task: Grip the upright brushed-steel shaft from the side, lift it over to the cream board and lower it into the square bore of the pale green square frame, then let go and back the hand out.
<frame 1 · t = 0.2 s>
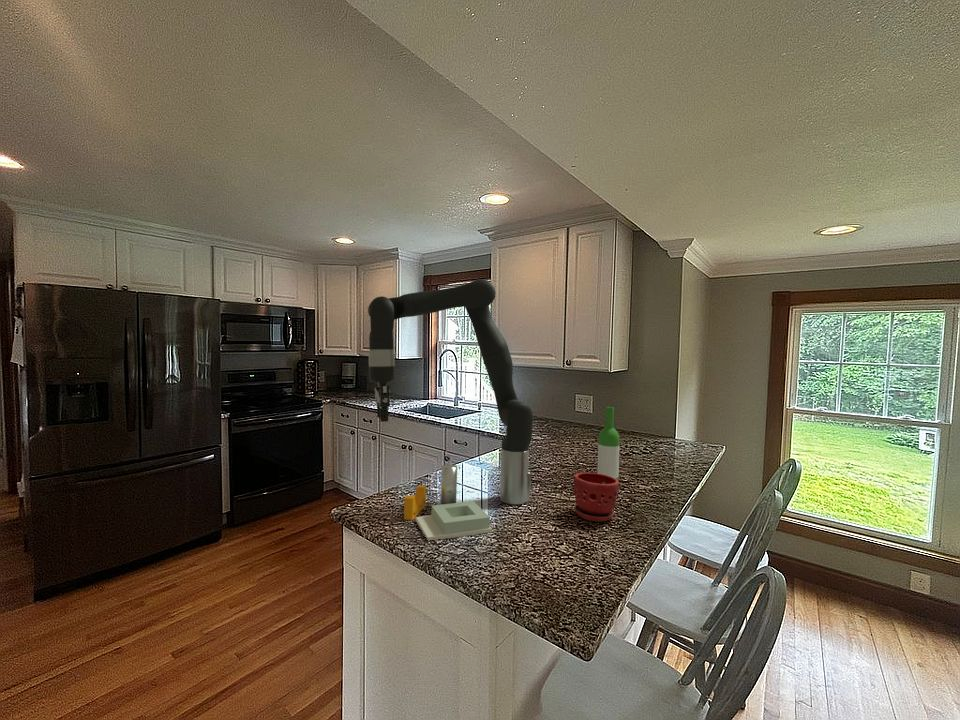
hand: (382, 419, 121), 28 cm above the counter, tool pointing down, fingers open, 8 cm apart
pale green square frame: (459, 525, 115), on the counter
wine bottle: (607, 484, 158), on the counter
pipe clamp: (412, 513, 124), on the counter
plant pot: (594, 516, 125), on the counter
steel shaft: (448, 507, 129), on the counter
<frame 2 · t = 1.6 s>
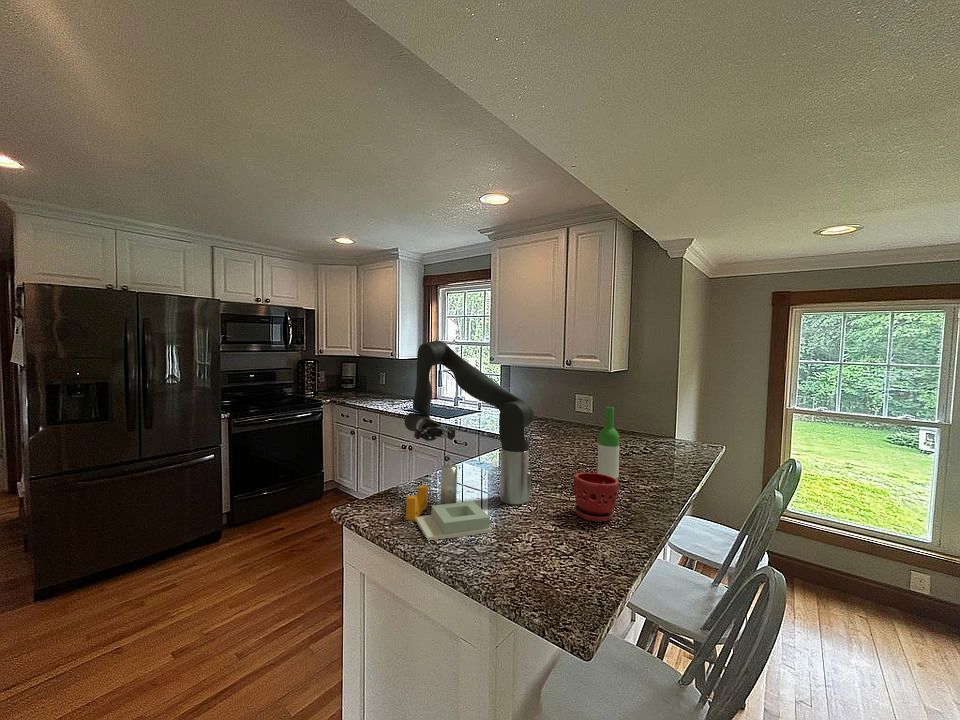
hand: (440, 437, 139), 20 cm above the counter, tool horizontal, fingers open, 8 cm apart
nothing on the counter moved.
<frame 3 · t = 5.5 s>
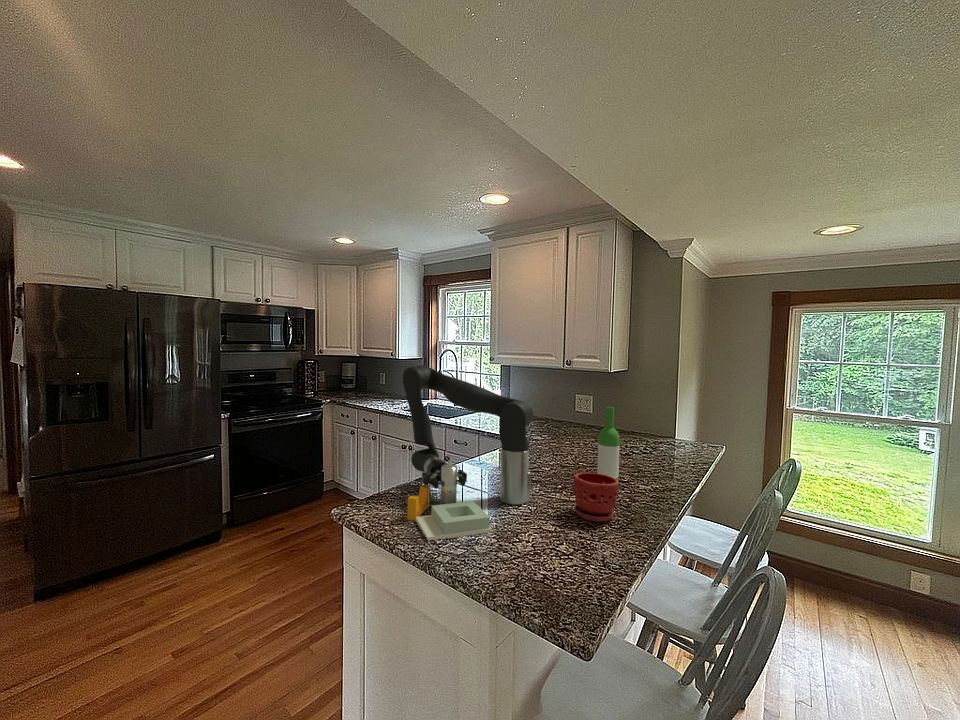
hand: (450, 483, 127), 8 cm above the counter, tool horizontal, fingers open, 8 cm apart
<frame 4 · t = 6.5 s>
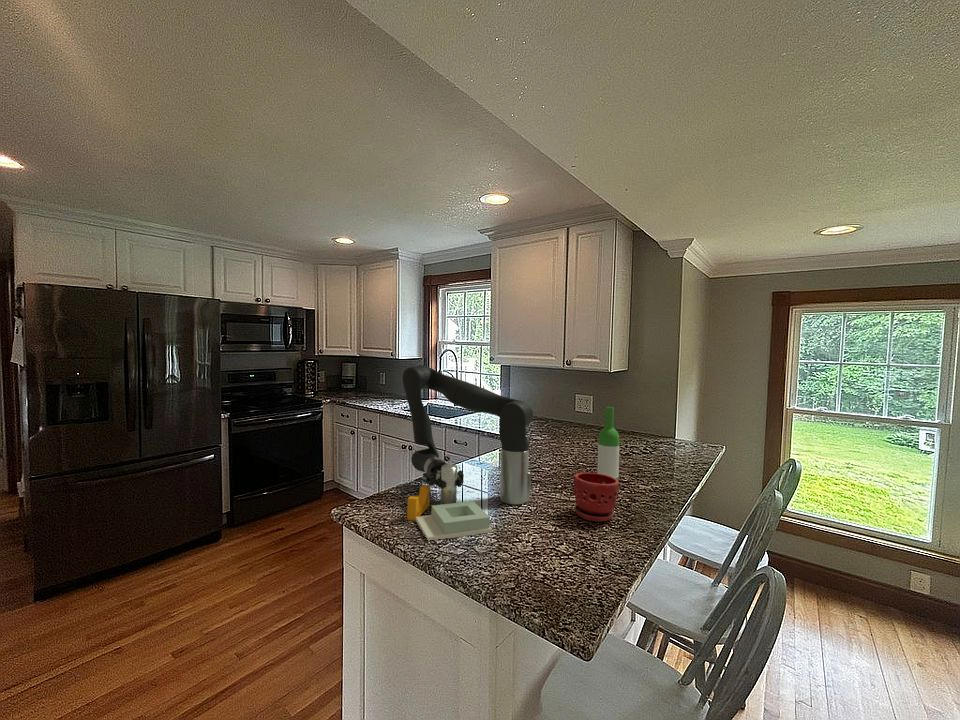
hand: (451, 484, 126), 8 cm above the counter, tool horizontal, fingers closed on steel shaft, 5 cm apart
steel shaft: (448, 507, 129), on the counter, touching gripper
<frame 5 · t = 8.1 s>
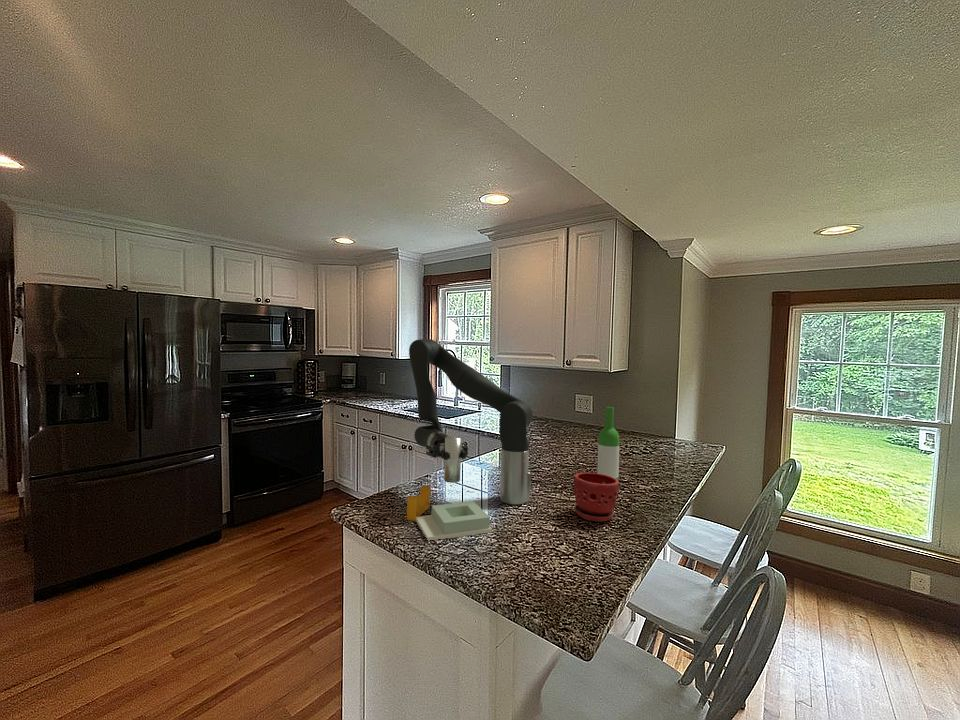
hand: (455, 456, 122), 18 cm above the counter, tool horizontal, fingers closed on steel shaft, 5 cm apart
steel shaft: (452, 480, 125), point 10 cm above the counter, touching gripper
when the fingers open (10 cm above the counter, at t = 11.3 s): steel shaft drops 1 cm, resting on pale green square frame.
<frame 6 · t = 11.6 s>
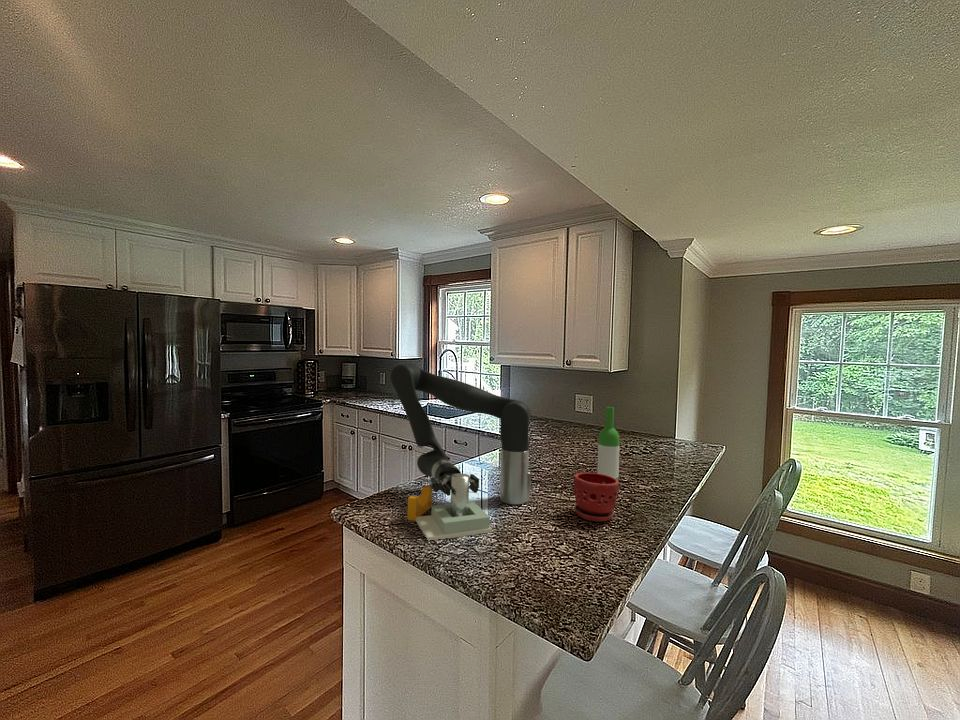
hand: (462, 490, 113), 10 cm above the counter, tool horizontal, fingers open, 7 cm apart
steel shaft: (459, 521, 115), point 1 cm above the counter, touching pale green square frame
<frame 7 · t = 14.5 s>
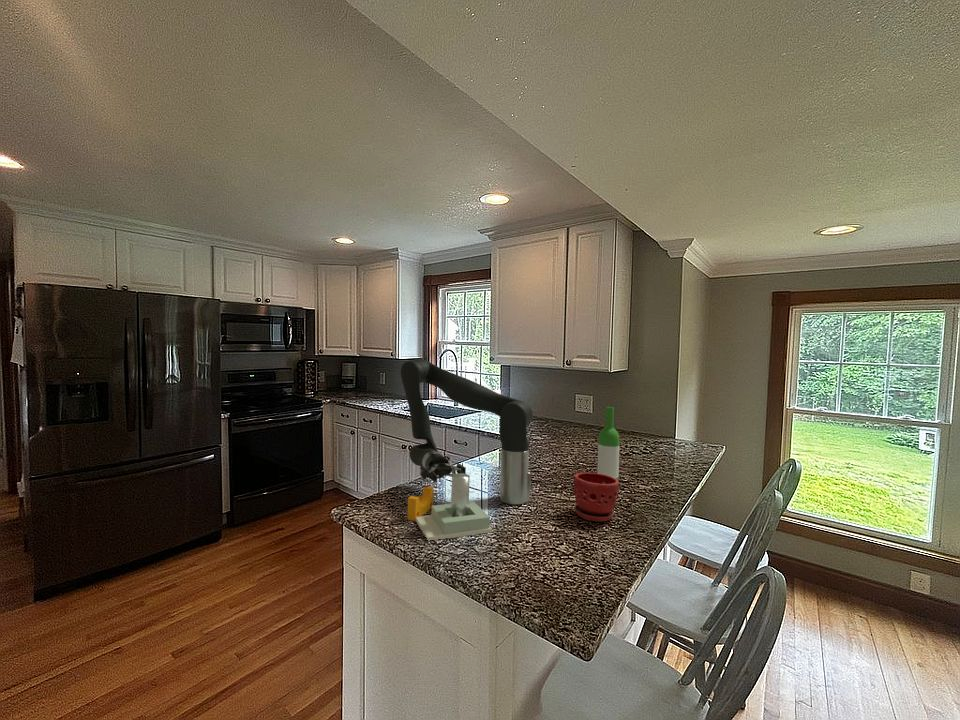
hand: (449, 477, 125), 10 cm above the counter, tool horizontal, fingers open, 8 cm apart
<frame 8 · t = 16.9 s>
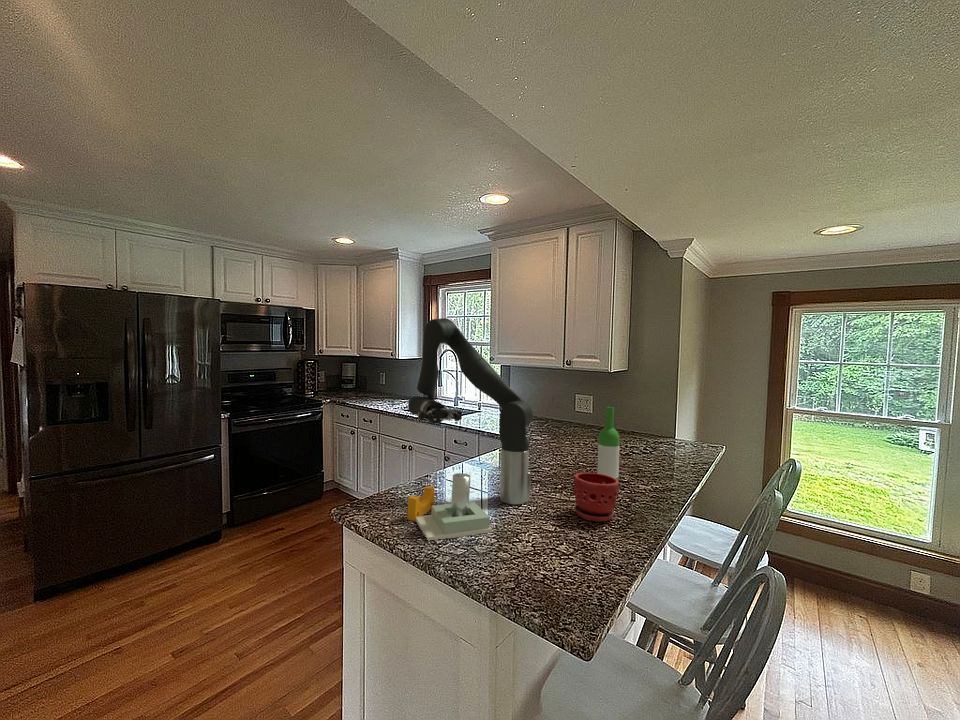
hand: (445, 418, 130), 28 cm above the counter, tool horizontal, fingers open, 8 cm apart
at the end: steel shaft 0.1 cm off-centre on the pale green square frame, point 1.1 cm above the pale green square frame's base; steel shaft tilted 1°; the gripper is holding nothing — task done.
